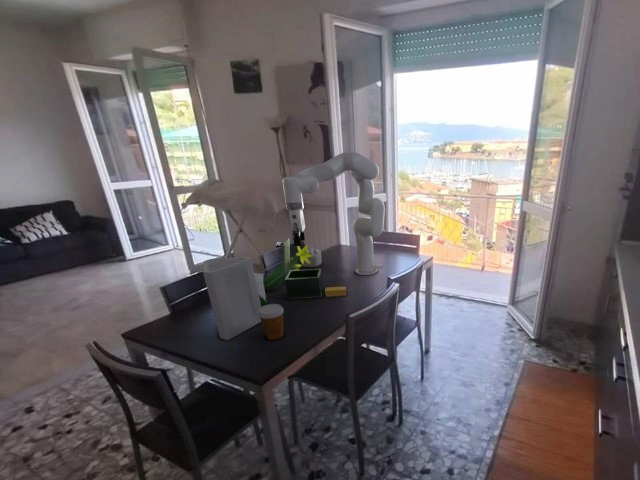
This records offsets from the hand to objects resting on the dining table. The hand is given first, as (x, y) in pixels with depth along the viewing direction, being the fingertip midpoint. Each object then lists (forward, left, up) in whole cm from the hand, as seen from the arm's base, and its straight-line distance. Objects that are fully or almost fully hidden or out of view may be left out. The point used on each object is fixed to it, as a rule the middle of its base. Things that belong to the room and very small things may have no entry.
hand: (299, 243), depth 167 cm
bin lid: (+7, -1, -7) cm, 10 cm away
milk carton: (+19, +17, -27) cm, 38 cm away
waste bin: (0, -2, -27) cm, 27 cm away
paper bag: (+26, +28, -27) cm, 47 cm away
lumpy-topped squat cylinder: (+2, -51, -27) cm, 57 cm away
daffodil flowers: (+13, -20, -27) cm, 36 cm away
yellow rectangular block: (-15, +1, -27) cm, 30 cm away
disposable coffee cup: (+7, +39, -27) cm, 48 cm away
